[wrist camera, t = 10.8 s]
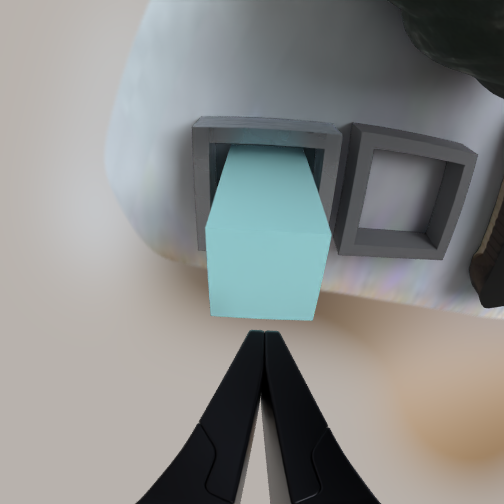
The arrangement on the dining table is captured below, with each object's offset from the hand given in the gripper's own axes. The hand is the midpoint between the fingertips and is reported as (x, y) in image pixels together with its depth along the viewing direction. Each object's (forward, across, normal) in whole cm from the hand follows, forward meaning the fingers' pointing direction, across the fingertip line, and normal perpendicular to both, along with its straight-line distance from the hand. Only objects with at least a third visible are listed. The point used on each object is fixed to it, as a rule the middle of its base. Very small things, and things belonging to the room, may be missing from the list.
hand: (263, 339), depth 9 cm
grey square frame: (+12, -8, 0) cm, 14 cm away
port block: (+12, 0, 0) cm, 12 cm away
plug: (+12, 0, 0) cm, 12 cm away
